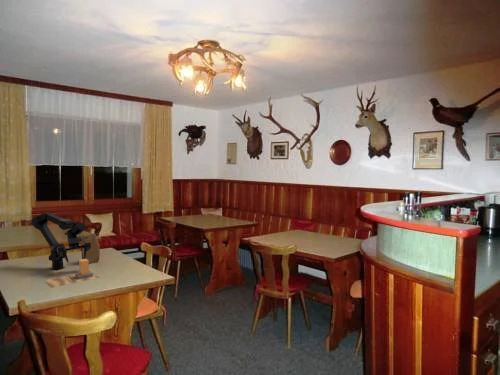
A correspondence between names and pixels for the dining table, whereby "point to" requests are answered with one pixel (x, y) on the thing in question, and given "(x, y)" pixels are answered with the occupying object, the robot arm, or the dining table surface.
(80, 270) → the sanding block
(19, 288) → the dining table surface
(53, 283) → the board
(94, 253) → the bread loaf
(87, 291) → the dining table surface
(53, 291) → the dining table surface
